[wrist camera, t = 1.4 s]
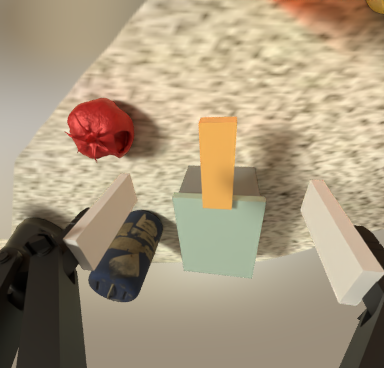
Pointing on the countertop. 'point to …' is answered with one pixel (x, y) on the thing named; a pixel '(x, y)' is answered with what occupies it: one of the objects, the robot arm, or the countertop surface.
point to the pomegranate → (101, 129)
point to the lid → (218, 209)
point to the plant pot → (376, 5)
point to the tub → (242, 181)
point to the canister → (127, 258)
